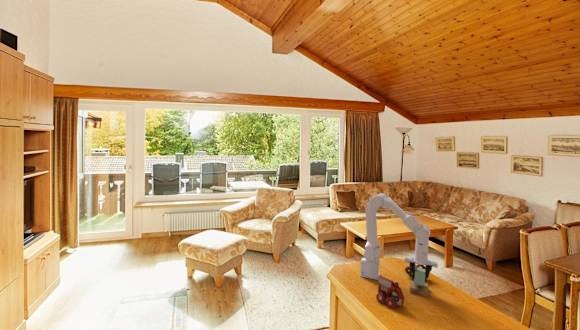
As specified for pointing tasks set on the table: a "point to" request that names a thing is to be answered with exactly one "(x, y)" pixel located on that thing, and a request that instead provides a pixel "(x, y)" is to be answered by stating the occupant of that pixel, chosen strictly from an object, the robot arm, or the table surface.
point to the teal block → (419, 277)
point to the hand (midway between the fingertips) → (419, 279)
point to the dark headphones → (415, 267)
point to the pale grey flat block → (418, 289)
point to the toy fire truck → (389, 292)
